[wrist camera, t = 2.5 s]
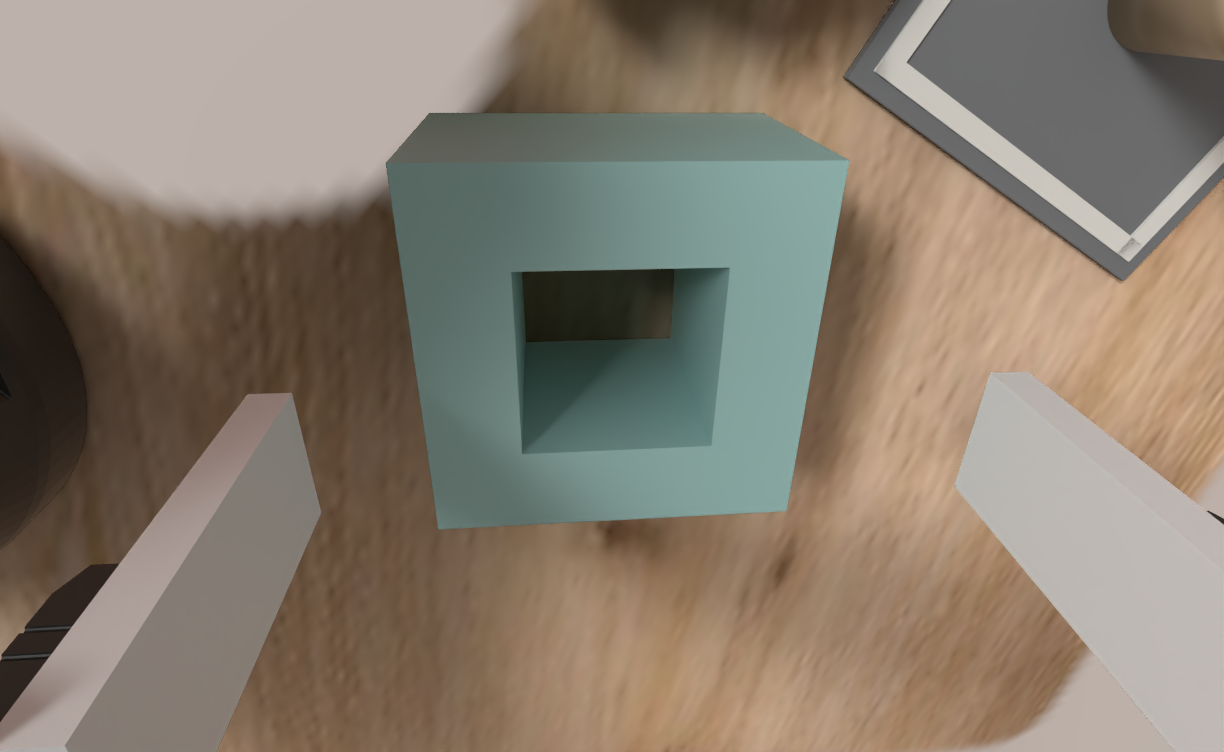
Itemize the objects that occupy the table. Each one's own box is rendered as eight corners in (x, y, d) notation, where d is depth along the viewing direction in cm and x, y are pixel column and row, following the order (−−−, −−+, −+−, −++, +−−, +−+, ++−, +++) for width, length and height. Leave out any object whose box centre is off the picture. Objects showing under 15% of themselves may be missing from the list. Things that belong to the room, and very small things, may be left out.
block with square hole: (461, 404, 22) (438, 529, 17) (429, 113, 18) (386, 163, 13) (730, 394, 23) (786, 511, 18) (763, 113, 19) (849, 160, 14)
